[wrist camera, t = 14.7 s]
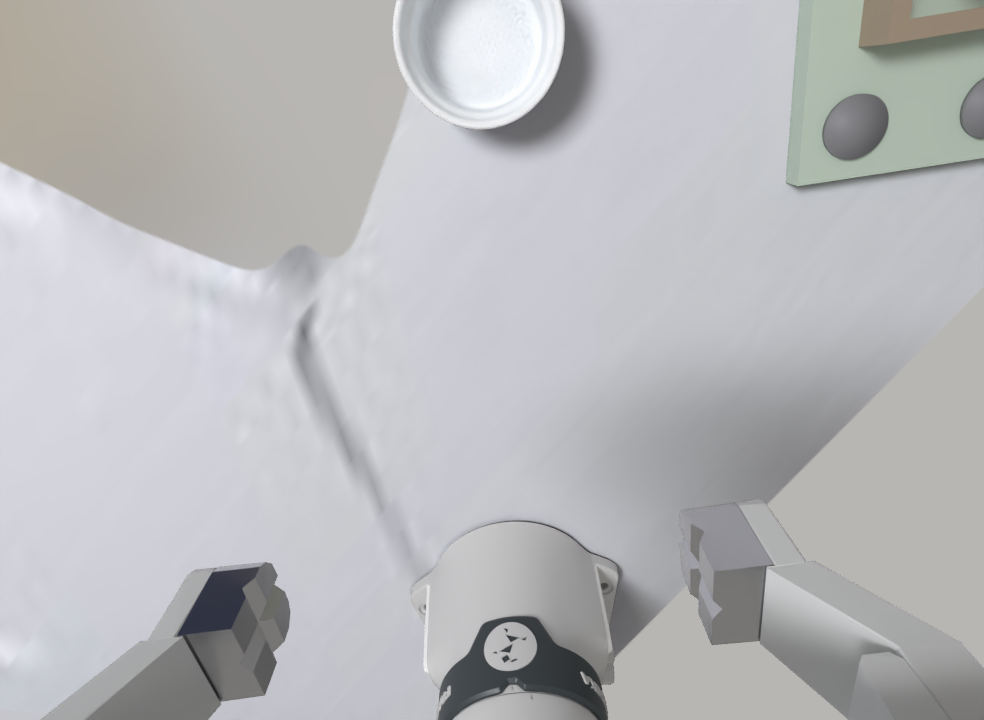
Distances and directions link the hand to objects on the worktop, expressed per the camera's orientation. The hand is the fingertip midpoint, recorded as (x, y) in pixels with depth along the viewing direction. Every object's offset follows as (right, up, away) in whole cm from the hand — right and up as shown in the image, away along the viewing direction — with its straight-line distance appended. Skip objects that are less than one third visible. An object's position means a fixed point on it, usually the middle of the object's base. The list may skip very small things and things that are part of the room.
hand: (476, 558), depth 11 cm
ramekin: (0, +23, +22) cm, 31 cm away
